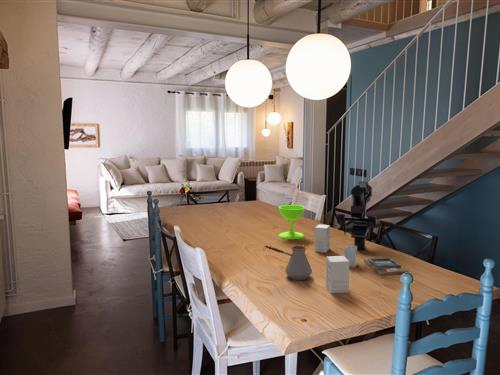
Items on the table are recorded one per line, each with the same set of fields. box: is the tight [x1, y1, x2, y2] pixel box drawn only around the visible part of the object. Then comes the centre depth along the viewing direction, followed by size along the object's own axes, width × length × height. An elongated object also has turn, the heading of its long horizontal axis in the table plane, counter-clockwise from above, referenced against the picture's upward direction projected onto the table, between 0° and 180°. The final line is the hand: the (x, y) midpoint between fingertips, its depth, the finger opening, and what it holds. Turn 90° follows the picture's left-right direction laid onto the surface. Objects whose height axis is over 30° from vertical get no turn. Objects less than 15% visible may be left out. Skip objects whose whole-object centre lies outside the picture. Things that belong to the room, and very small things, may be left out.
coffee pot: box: [263, 245, 313, 281], centre depth 164 cm, size 21×12×15 cm, turn 104°
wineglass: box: [278, 204, 306, 240], centre depth 235 cm, size 16×16×18 cm
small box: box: [314, 223, 331, 253], centre depth 206 cm, size 8×6×13 cm
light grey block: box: [343, 244, 358, 269], centre depth 181 cm, size 5×5×9 cm
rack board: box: [363, 257, 409, 276], centre depth 177 cm, size 18×13×2 cm
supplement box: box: [325, 255, 350, 294], centre depth 151 cm, size 7×7×13 cm
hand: (354, 234), depth 185 cm, fingers open, 9 cm apart
